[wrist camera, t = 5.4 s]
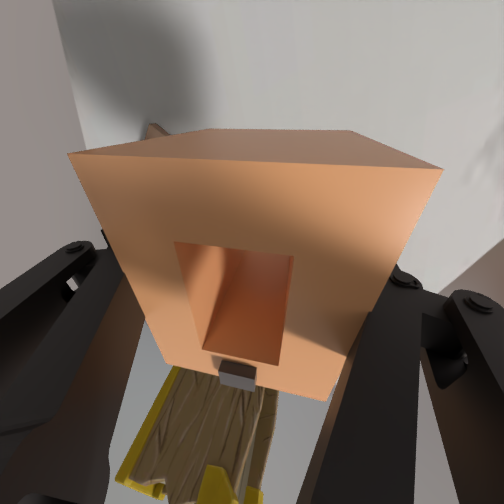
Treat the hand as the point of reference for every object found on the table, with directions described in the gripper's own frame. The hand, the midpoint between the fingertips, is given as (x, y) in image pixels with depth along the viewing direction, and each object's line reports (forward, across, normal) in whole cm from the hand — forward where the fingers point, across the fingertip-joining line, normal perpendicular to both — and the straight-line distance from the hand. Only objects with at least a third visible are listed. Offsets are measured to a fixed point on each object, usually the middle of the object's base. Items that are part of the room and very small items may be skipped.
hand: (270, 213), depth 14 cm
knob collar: (0, 0, 0) cm, 0 cm away
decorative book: (+17, -8, -37) cm, 42 cm away
